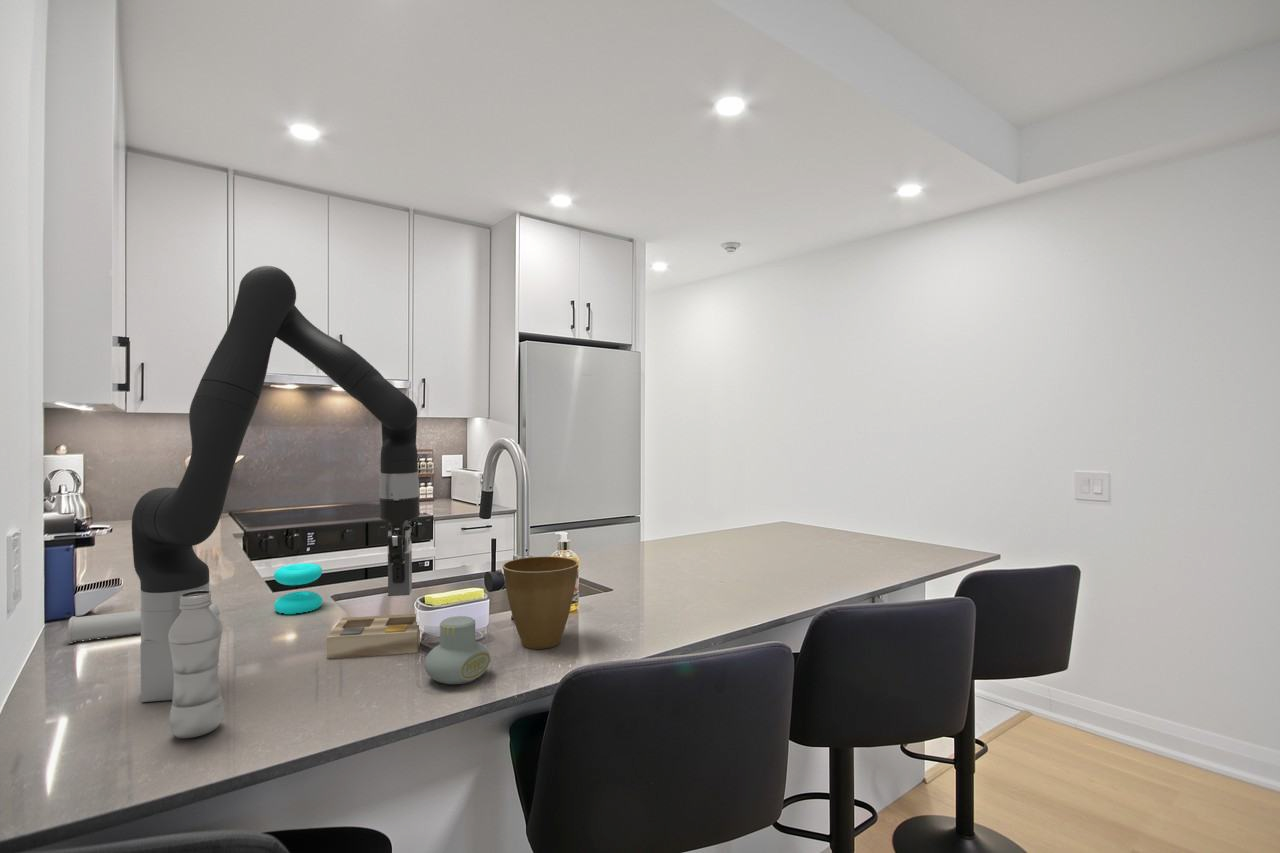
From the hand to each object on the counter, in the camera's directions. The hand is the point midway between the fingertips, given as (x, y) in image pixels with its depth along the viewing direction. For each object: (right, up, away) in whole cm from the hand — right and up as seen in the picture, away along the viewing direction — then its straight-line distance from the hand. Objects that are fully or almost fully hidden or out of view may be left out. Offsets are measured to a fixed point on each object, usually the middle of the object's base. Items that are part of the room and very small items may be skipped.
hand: (400, 579), depth 132 cm
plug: (0, -3, 0) cm, 3 cm away
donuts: (-31, -12, +21) cm, 40 cm away
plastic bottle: (-15, -13, -38) cm, 43 cm away
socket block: (-3, -12, -2) cm, 13 cm away
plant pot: (+28, -13, -1) cm, 31 cm away
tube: (-54, -13, +5) cm, 56 cm away
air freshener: (+17, -13, -19) cm, 28 cm away
